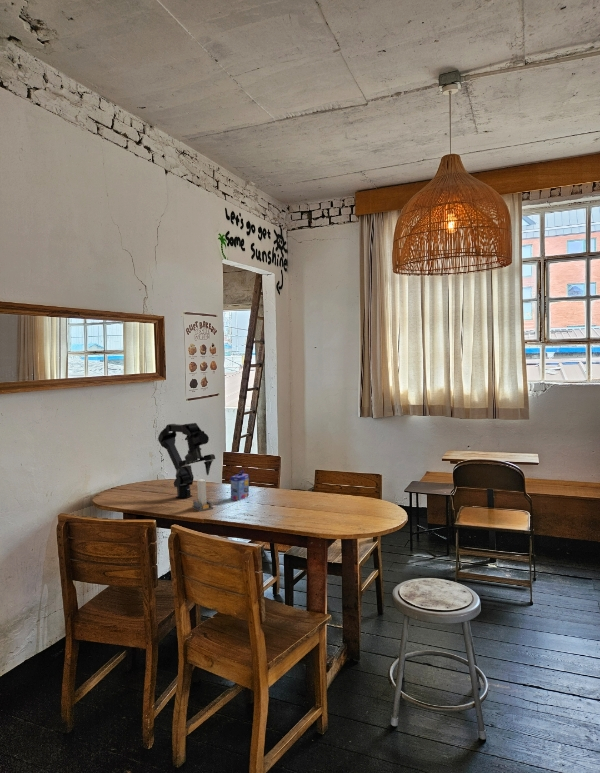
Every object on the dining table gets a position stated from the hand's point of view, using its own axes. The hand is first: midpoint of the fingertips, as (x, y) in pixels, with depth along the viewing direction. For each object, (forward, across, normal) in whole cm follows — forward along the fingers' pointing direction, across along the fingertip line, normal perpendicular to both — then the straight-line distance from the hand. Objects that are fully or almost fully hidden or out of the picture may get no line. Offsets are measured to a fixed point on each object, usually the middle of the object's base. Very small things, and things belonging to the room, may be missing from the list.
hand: (199, 477), depth 270 cm
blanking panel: (+14, +3, -10) cm, 18 cm away
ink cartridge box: (+15, +15, +11) cm, 24 cm away
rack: (+15, +3, -10) cm, 18 cm away
